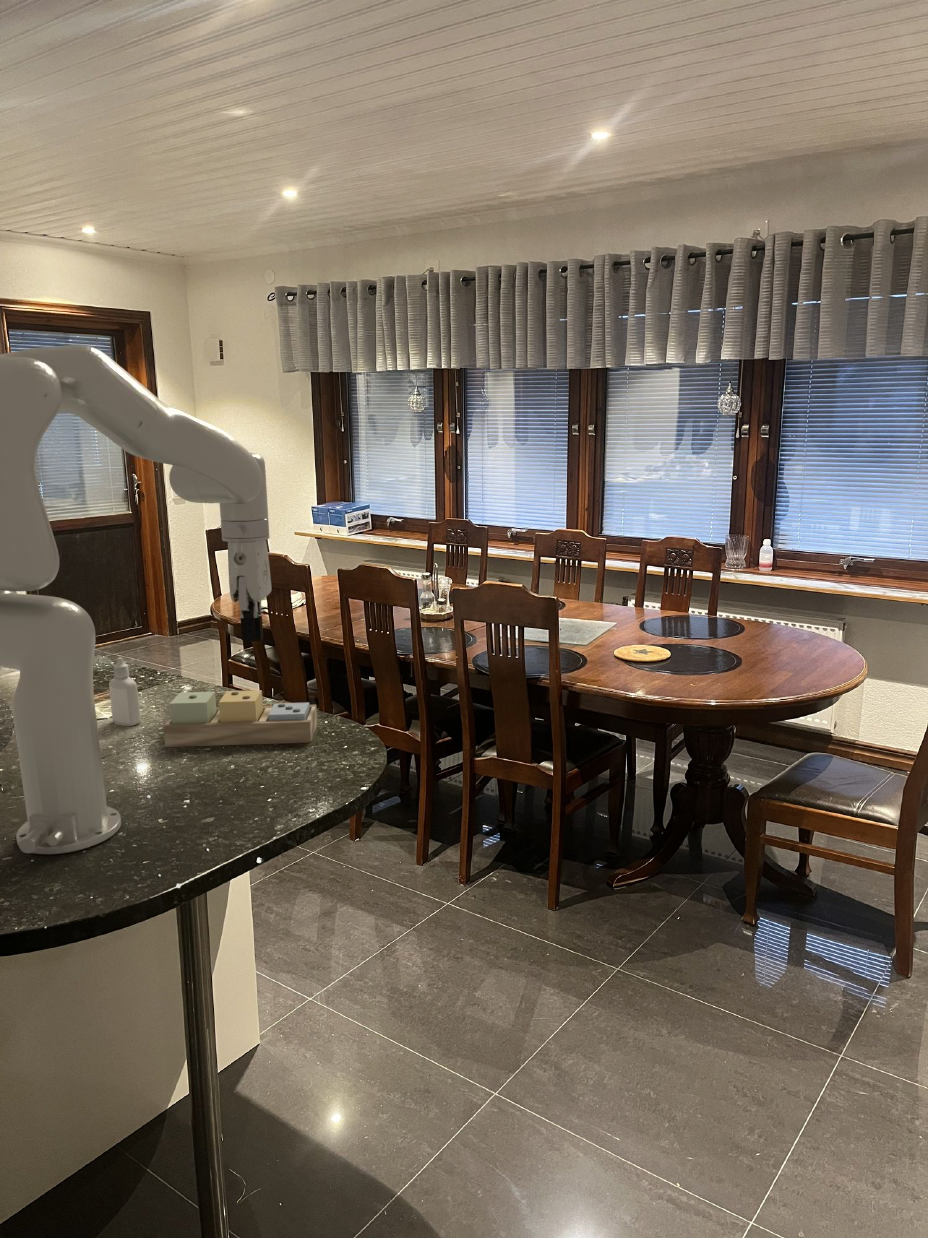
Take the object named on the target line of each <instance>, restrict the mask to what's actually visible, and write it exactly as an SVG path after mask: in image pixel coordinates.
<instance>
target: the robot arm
mask: <svg viewBox="0 0 928 1238" xmlns="http://www.w3.org/2000/svg"><path fill="white" fill-rule="evenodd" d="M60 414H61V415H63V414H65V415H66V414H70V415H75V416H76V417H78V418H80V419H82V420H83V421H84V422H85V423H87V424H88V425H90V426H91V427H93V428H94V429H95V430H96V431H98V432H100V433H101V434H102V435H104V436H105V437H107V439H109V440H110V441H112V442H113V443H114V444H116V445H117V446H118V447H119V448H121V449H122V450H124V451H125V452H126V453H128V454H130V455H131V456H134V457H137V458H141V459H144V460H148V461H151V462H155V463H159V464H165V465H171V468H170V471H169V473H168V474H169V475H168V480H169V484H170V487H171V489H172V490H173V492H174V493H175V495H177V496H178V498H180V499H182V500H184V501H187V502H190V503H195V504H196V503H197V504H219V514H220V515H219V516H220V530H221V540H222V541H223V542H227V563H228V566H227V568H228V571H227V572H228V585H229V587H228V588H229V594H230V599H231V601H232V602H234V603H238V610H239V616H240V627H241V628H240V630H241V641H242V642H261V641H262V640H263V639H264V626H263V624H264V623H263V615H262V601H263V600H264V599H266V597H268V596H269V595H270V594H271V592H272V588H273V587H272V580H271V579H272V578H271V571H270V570H271V567H270V560H269V551H268V550H269V549H268V545H267V540H269V539H270V524H269V507H268V491H267V488H268V487H267V476H266V475H267V474H266V472H267V471H266V462H265V459H264V457H263V456H262V455H261V454H258V453H255V452H250V451H249V450H248V449H246V447H244V446H243V445H242V444H241V443H240V442H239V441H238V440H237V439H235V438H234V437H232V436H231V435H230V434H228V433H227V432H226V431H224V430H222V429H220V428H218V427H217V426H214V425H212V424H209V423H207V422H205V421H204V420H201V419H199V418H196V417H194V416H193V415H190V414H189V413H186V412H184V411H182V410H179V409H177V408H175V407H172V406H169V405H168V404H166V403H164V402H163V401H162V400H161V399H159V397H157V396H156V395H155V394H154V393H153V392H151V391H150V390H149V389H148V388H147V387H146V386H145V385H143V384H142V383H141V382H139V381H138V380H137V379H136V378H135V377H134V376H132V375H131V374H130V373H129V372H128V371H126V370H125V369H124V368H123V367H122V366H120V365H119V364H118V363H117V362H116V361H115V360H114V359H113V358H111V357H110V356H108V354H106V353H104V352H103V351H101V350H100V349H98V348H96V347H93V346H89V345H83V344H72V345H71V344H70V345H68V344H67V345H58V346H43V347H33V348H29V349H23V350H18V351H17V350H16V351H11V352H5V353H1V354H0V668H7V669H14V670H17V671H19V679H18V682H17V685H16V688H15V691H14V695H13V699H12V717H13V725H14V732H15V738H16V739H15V740H16V745H17V752H18V753H17V754H18V760H19V767H20V776H21V783H22V788H23V796H24V797H23V798H24V804H25V811H26V819H27V821H26V822H25V823H23V824H22V825H21V826H20V827H19V828H18V830H17V831H16V835H15V836H16V838H15V839H16V844H17V846H18V848H19V850H20V851H21V852H22V853H25V854H36V855H58V854H60V855H61V854H66V853H67V854H68V853H72V852H78V851H81V850H84V849H87V848H88V849H89V848H91V847H93V846H95V845H99V844H100V843H103V842H104V841H106V840H108V839H110V838H111V837H112V836H114V835H115V834H116V833H117V832H118V831H119V830H120V828H121V826H122V818H121V817H122V816H121V814H120V812H119V811H118V810H117V809H115V808H113V807H110V806H108V805H107V797H106V789H105V780H104V773H103V763H102V754H101V744H100V737H99V735H100V734H99V728H98V720H97V713H96V703H95V693H94V692H95V691H94V662H95V661H94V658H95V650H96V628H95V624H94V621H93V620H92V618H91V616H90V614H89V613H88V612H87V611H86V610H85V609H84V608H83V607H82V606H80V605H79V604H77V603H75V602H73V601H71V600H69V599H67V598H66V599H65V598H62V597H56V596H53V595H52V596H51V595H50V596H49V595H40V594H25V593H18V592H31V591H32V592H33V591H37V590H41V589H43V588H45V587H47V586H48V585H49V584H51V583H52V582H53V581H54V580H55V579H56V577H57V575H58V572H59V570H60V569H59V568H60V554H59V550H58V545H57V543H56V539H55V536H54V533H53V530H52V526H51V524H50V519H49V516H48V512H47V510H46V507H45V503H44V500H43V497H42V493H41V490H40V486H39V482H38V477H37V472H36V471H37V470H36V458H37V453H38V450H39V447H40V444H41V441H42V438H43V437H44V435H45V434H46V432H47V430H48V428H49V427H50V425H52V422H53V421H54V420H55V418H56V417H57V415H60Z"/></svg>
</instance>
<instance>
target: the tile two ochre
mask: <svg viewBox="0 0 928 1238" xmlns="http://www.w3.org/2000/svg"><path fill="white" fill-rule="evenodd" d="M263 701H264V699H263V691H262V690H260V689H257V690H255V689H253V690H227V691H225V692H224V694H223V696H222V697H221V698H220V700H219V701H218V708H219V711H220V722H249V721H258V719H259V717H260V715H261V714H262V712H263V706H264V703H263Z"/></svg>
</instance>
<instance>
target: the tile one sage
mask: <svg viewBox="0 0 928 1238" xmlns="http://www.w3.org/2000/svg"><path fill="white" fill-rule="evenodd" d="M169 708H170V718H171V719H172V724H183V723H209V722H210V721H211V719H212V718H213V717H214V715H215V714H216V712H217V709H216V708H217V699H216V691H192V692H191V691H190V692H189V691H188V692H187V691H185V692H179V693H178V694H177V695H176V696H175V697H174V698H173V700H171V702H170V703H169Z"/></svg>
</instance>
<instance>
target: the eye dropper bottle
mask: <svg viewBox="0 0 928 1238" xmlns="http://www.w3.org/2000/svg"><path fill="white" fill-rule="evenodd" d="M113 675H114V677H113V678H112V679H110V681H109V683H108V689H109V690H108V691H109V699H110V708H111V715H112V716H111V719H112V721H113V723H114V724H116V725H119V726H122V727H133V726H135V725H139V724H141V722H142V721H141V711H140V709H141V708H140V700H139V692H138V684H137V683H136V681H135V680H134V679H133V678H132V677H130V671H129V664H128V663H125V662H124V660H123V657H118V658H117V663H116V664H115V665H113Z"/></svg>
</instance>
